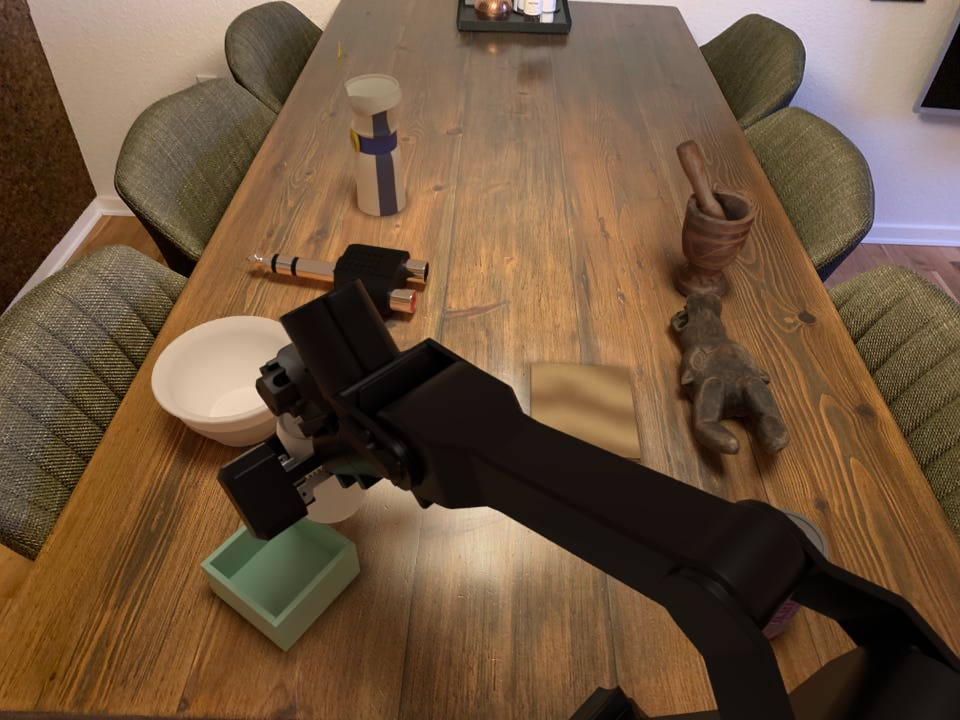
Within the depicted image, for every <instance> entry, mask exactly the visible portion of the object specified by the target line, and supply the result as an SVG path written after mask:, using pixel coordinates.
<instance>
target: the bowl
mask: <svg viewBox="0 0 960 720" xmlns="http://www.w3.org/2000/svg"><path fill="white" fill-rule="evenodd" d="M290 343H292V342H291V340H290V338H289V337H288V335H287V333H286V332H285V330H284V328H283V326H282V325H281V323H280V321H277V320H274V319H271V318H268V317H262V316H256V315H234V316H233V315H232V316H228V317H222V318H221V317H220V318H216V319H212V320H209V321H207V322H203V323H201V324H199V325H196V326H194V327H193V328H190V329H189V330H186V331H185V332H184V333H182V334H180V335H179V336H177V337H176V338H175V339H173V340H172V342H170V343H169V344H168V345H166V347H165V348H164V349H163V351H162V352H161V353H160V355H159V356H158V358H157V360H156V361H155V363H154V364H153V369H152V373H151V375H150V376H151V379H150V380H151V391H152V393H153V396H154V398H155V400H156V401H157V403H158V404H159V405H160V407H161V408H163V409H164V410H165V411H166V412H168V413H169V414H170V415H172V416H174V417H177V418H178V419H180V420H181V421H182V423H184V425H186V426H187V427H188V428H189V429H191V430H192V431H193V432H195V433H197V434H199V435H202V436H204V437H205V438H208V439H210V440H215V441H216V442H218V443H220V444H222V445H224V446H225V445H226V446H228V447H229V446H230V447H237V448H239V447H240V448H241V447H248V446H252V445H256V444H258V443H262V442H264V441H266V440H268V439H269V438H271V436H273V435H274V434H275V433H277V423H278V417H277V416H275V415H273V414H272V412H271V411H270V409H269V408H268V407H267V405H266V404H265V402H264V401H263V400H262V398H261V397H260V395H259V394H258V392H257V390H256V388H255V385H256V379H258V378H259V377H261V376H262V374H261V373H260V370H259V368H260V367H262V366H264V365H265V364H266V362H268V361H270V360H272V359H273V358H275V357H276V356H277V353H278V351H279V350H280V349H281V348H283V347H285V346H286V345H288V344H290Z"/></svg>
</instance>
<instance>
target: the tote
mask: <svg viewBox="0 0 960 720" xmlns="http://www.w3.org/2000/svg"><path fill="white" fill-rule="evenodd" d="M199 566H200V568H201V570H202V572H203V574H204V576H205V579H206V580H207V582H208V584H209V586H210V588H211V590H212V592H213V593H214V594H216V595H217V596H218V597H219V598H220V599H221V600H222V601H224V602H225V603H226V604H227V605H229V606H230V607H231V608H232V609H233V610H235V611H236V612H237V613H238V614H239V615H240V616H242V617H243V618H244V619H245V620H246V621H248V622H249V623H250V624H251V625H252V626H253V627H254V628H256V629H257V630H258V631H260V632H261V633H262V634H263V635H265V637H267V638H268V639H269V640H270V641H271V642H273V644H275V645H276V646H277V647H279V648H280V649H281V650H282V651H283V652H285V653H287V652H288V651H289V650H290V649H291V648H292V646H293V645H294V644H295V643H296V642H297V641H298V640H299V639H300V638H301V637H302V635H304V633H306V631H307V630H308V629H309V628H310V627H311V626H312V625H313V624H314V622H316V620H317V619H318V618H319V617H320V616H321V615H322V614H323V613H324V612H325V611H326V610H327V609H328V608H329V606H331V604H332V603H333V602H334V601H335V600H336V599H337V598H338V596H340V594H341V593H342V592H343V591H344V590H345V589H346V588H347V587H348V586H349V584H350V583H351V582H352V581H353V580H354V579H355V578H356V577H358V575H359V573H360V572H361V568H360V561H359V557H358V552H357V546H356V543H355V542H353V541H352V540H350V539H349V538H347V537H346V536H345V535H343V534H342V533H340V532H339V531H337V530H336V529H335V528H333V527H332V526H331V525H329V523H318V522H314V521H311V520H309V519H307V518H306V517H304V518H302V519H301V520H299V521H298V522H296V523H295V524H293V525H292V526H291V527H289V528H288V529H286V530H285V531H283V532H282V533H280V534H279V535H277V536H276V537H274V538H273V539H272V540H270V541H266V540H260V539H256V538H253V537H252V535H251V534H250V532H249V531H248V529H247V527H246V526H245V524H244V523H243V525H241V527H239V528H238V529H237V530H236V531H235V532H234V533H233V534H232V535H231V536H230V537H228V538H227V539H226V540H225V541H224V542H223V543H222V544H220V545H219V546H218V547H217V548H216V549H215V550H214V551H213V552H212V553H210V555H208V557H206V558H205V559H204V560H203V561H202V562H200V563H199Z"/></svg>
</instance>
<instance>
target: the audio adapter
mask: <svg viewBox="0 0 960 720" xmlns="http://www.w3.org/2000/svg"><path fill="white" fill-rule="evenodd" d="M245 260H246V262H247V263H248V264H249V265H250V266H251V267H252V268H253V269H254V270H255V271H260V270H261V269H262V268H263V267H264V268H266V270H267V271H268V272H269V273H270V274H271V273H272V274H278V275H284V276H290V277H298V278H302V279H304V278H305V279H309V280H316V281H321V282H327V283H333V288H334V289H335V288H337V287H339V286H341V285H343V284H345V283H347V282H349V281H351V280H353V279H355V278H358V279H360V281H361V282H362V284H363V286H364V288H365V290H366V291H367V293H368V295H369V297H370V298H371V300H372V302H373V304H374V306H375V307H376V309H377V311H378V313H379V315H380V316H387V317H390V316H392V315H393V314H394V312H401V313H407V314H408V313H409V314H413V313H414V311H415V309H416V306H417V298H418V294H417V290H416V289H412V288H411V289H410V288H406V286H407V284H408V282H411V283H417V284H423V285H425V284H426V283H427V281H428V279H429V274H430V262H429V261H427V260H422V259H414V258H411V254H410V251H408V250H403V249H396V248H389V247H385V246H384V247H383V246H377V245H371V244H364V243H349V244H348V245H347V247H346V249H345V251H344V252H343V254H342V255H341V256H339V257H338V259H337V260H336V262H333V261H328V260H322V259H314V258H309V257H302V256H301V257H300V256H297V255H296V256H295V255H289V254H282V253H276V252H270V253H269V254H267V256H265V255H264V253H263V251H261V250H256V251H255V252H253V253H252V254H250V255H248V256H246V257H245Z"/></svg>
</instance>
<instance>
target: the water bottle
mask: <svg viewBox="0 0 960 720" xmlns="http://www.w3.org/2000/svg"><path fill="white" fill-rule="evenodd" d="M337 55H338V69H339V70H341V68H342V67H341V66H342V62H343V61H342V45H341V42H340V41H339V42H338V54H337ZM343 88H344V90H345V92H346V94H347V95H348V98H349V99H348V100H349V102H348V103H350V107H351V109H352V111H353V118H352V121H351V123H350V128H349V139H350V140H349V141H350V144H351V148H352V150H353V159H354V171H355V180H356V197H357V207H358V209H359V210H360V211H361V212H362V213H364V214H367V215H369V216H374V217H388V216H392V215H396V214H398V213H399V212H401V211H402V210H403V209H405V206H406V205H407V199H406V198H407V197H406V190H405V189H406V188H405V182H404V181H405V180H404V172H403V171H404V170H403V169H404V168H403V158H402V151H401V147H400V145H399V143H398V131H397V130H398V129H399V127H400V121H399V120H398V118H397V117H396V115H395V109H394V108H395V107H396V106H397V105H399V104H400V102H401V101H402V99H403V94H402V93H403V92H402V89H401V86H400V82H399V81H398V80H397V79H396V78H394V77H393V76H390V75H387V74H383V73H382V74H381V73H369V74H362V75H357V76H354V77H352V78H350V79H348V80H346V81H345V83H344V85H343Z"/></svg>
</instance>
